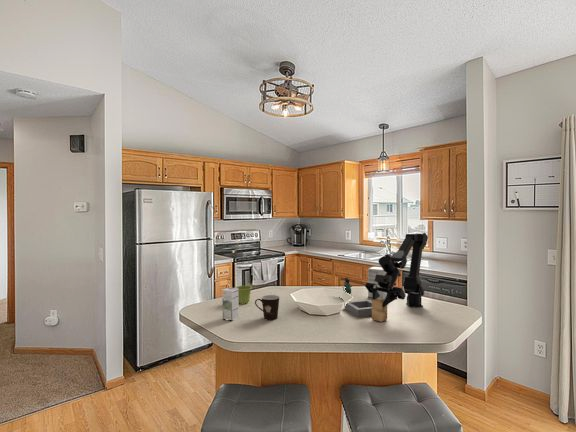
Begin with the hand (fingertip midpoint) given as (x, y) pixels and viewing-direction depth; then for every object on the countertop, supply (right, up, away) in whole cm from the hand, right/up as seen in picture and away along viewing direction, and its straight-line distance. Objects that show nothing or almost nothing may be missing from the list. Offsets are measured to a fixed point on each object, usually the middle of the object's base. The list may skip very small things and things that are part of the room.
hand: (377, 305), depth 149 cm
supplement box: (+12, -7, +43) cm, 45 cm away
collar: (-3, -7, +15) cm, 17 cm away
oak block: (+1, -7, +1) cm, 7 cm away
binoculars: (-8, -7, +44) cm, 46 cm away
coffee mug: (-51, -8, +7) cm, 52 cm away
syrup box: (-69, -8, +5) cm, 69 cm away
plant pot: (-66, -8, +33) cm, 74 cm away
